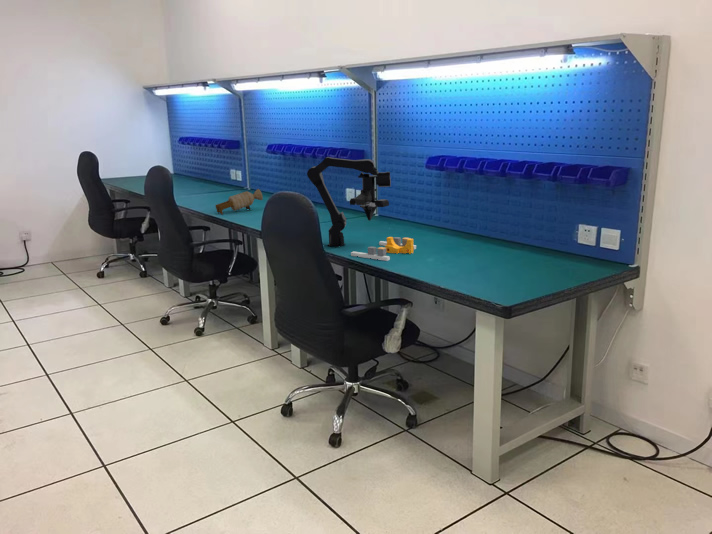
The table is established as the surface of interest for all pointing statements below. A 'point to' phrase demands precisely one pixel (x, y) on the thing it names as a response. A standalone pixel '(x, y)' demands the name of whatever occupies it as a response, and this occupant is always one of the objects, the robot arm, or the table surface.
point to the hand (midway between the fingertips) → (369, 220)
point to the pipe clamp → (394, 248)
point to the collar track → (381, 250)
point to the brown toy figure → (240, 201)
